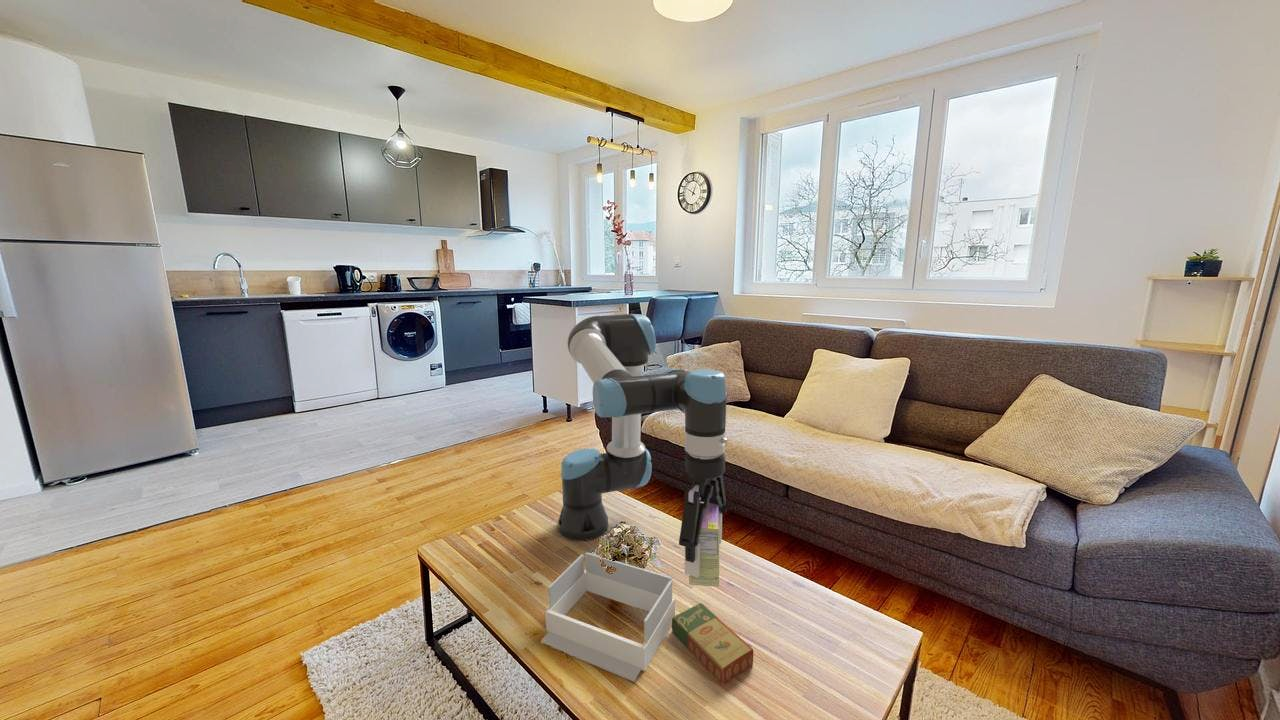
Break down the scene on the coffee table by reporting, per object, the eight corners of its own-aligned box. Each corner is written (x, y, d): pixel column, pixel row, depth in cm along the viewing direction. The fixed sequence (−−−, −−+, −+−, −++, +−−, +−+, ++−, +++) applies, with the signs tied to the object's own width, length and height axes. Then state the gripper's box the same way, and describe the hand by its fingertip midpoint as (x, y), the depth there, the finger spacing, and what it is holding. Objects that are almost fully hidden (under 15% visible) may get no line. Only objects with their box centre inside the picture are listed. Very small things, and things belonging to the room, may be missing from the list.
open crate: (537, 641, 97) (534, 599, 95) (585, 587, 114) (584, 550, 112) (638, 683, 87) (637, 637, 85) (675, 617, 103) (675, 577, 101)
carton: (721, 688, 86) (722, 668, 85) (670, 633, 100) (670, 615, 99) (753, 667, 91) (754, 648, 90) (700, 617, 104) (700, 600, 103)
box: (690, 553, 97) (690, 500, 95) (718, 555, 96) (719, 502, 94) (688, 585, 87) (688, 527, 85) (719, 588, 86) (720, 529, 84)
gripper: (700, 480, 75) (699, 599, 79) (743, 435, 96) (740, 532, 100) (658, 472, 79) (660, 586, 83) (708, 430, 99) (707, 523, 103)
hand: (704, 557), depth 91 cm, fingers closed on box, 11 cm apart
